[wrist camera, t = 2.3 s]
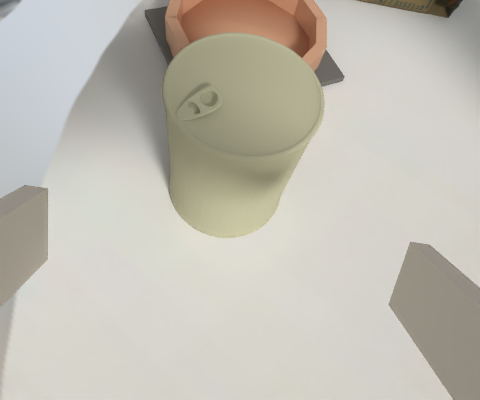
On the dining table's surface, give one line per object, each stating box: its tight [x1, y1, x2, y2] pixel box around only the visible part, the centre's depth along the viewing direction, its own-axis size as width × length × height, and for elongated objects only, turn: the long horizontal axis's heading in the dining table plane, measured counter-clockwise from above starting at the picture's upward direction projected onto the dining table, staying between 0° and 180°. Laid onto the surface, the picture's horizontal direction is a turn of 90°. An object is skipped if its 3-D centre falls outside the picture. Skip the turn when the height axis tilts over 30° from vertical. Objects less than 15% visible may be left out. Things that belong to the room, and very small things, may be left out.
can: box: [163, 32, 324, 238], centre depth 26 cm, size 9×9×12 cm
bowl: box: [165, 0, 327, 71], centre depth 36 cm, size 15×15×3 cm
